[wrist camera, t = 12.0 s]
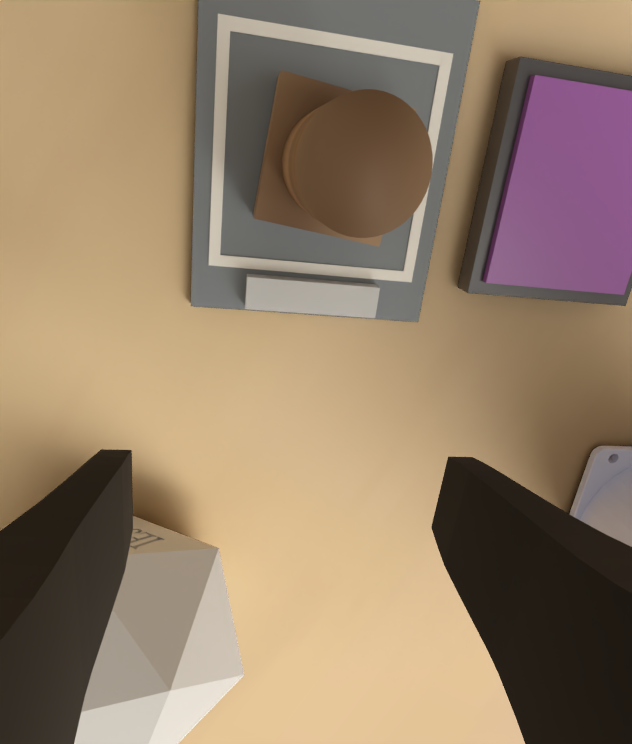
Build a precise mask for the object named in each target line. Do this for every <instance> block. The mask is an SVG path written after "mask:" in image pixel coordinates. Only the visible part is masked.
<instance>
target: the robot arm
mask: <svg viewBox="0 0 632 744" xmlns="http://www.w3.org/2000/svg"><path fill="white" fill-rule="evenodd" d="M612 454H613V455H612ZM611 455H612V456H611ZM610 456H611V457H610ZM609 457H610V458H609ZM432 530H433V533H434V537H435V540H436V543H437V546H438V549H439V552H440V554H441V557H442V560H443V562H444V565H445V567H446V569H447V571H448V574H449V576H450V578H451V580H452V582H453V584H454V586H455V588H456V590H457V592H458V594H459V596H460V597H461V599H462V601H463V603H464V605H465V607H466V609H467V611H468V613H469V615H470V617H471V619H472V621H473V623H474V625H475V627H476V628H477V630H478V632H479V634H480V636H481V638H482V640H483V642H484V644H485V646H486V648H487V650H488V652H489V654H490V656H491V658H492V660H493V663H494V665H495V667H496V669H497V671H498V673H499V676H500V678H501V681H502V683H503V686H504V689H505V691H506V694H507V696H508V699H509V701H510V704H511V706H512V709H513V711H514V714H515V716H516V719H517V722H518V724H519V727H520V730H521V733H522V735H523V738H524V741H525V744H632V446H599V447H597V448H595V449H594V450H593V451H592V453H591V454H590V457H589V460H588V463H587V466H586V468H585V471H584V474H583V477H582V480H581V483H580V485H579V488H578V491H577V494H576V497H575V499H574V502H573V505H572V508H571V511H570V514H568V513H566V512H564V511H563V510H561V509H559V508H558V507H556V506H554V505H552V504H551V503H549V502H547V501H546V500H544V499H542V498H541V497H539V496H538V495H536V494H534V493H533V492H531V491H529V490H528V489H526V488H525V487H523V486H521V485H520V484H518V483H516V482H515V481H513V480H512V479H510V478H508V477H507V476H505V475H504V474H502V473H500V472H499V471H497V470H495V469H493V468H492V467H490V466H488V465H487V464H485V463H483V462H481V461H479V460H477V459H475V458H473V457H448V460H447V464H446V469H445V473H444V477H443V481H442V485H441V490H440V494H439V498H438V502H437V506H436V511H435V515H434V519H433V523H432ZM132 532H133V502H132V453H131V450H100V451H99V452H98V453H97V454H96V455H94V456H93V457H92V458H91V459H89V460H88V461H87V462H86V463H85V464H84V465H83V466H81V467H80V468H79V469H78V470H77V471H76V472H75V473H73V474H72V475H71V476H70V477H69V478H68V479H66V480H65V481H64V482H63V483H62V484H61V485H59V486H58V487H57V488H56V489H55V490H53V491H52V492H51V493H50V494H49V495H47V496H46V497H45V498H44V499H42V500H41V501H40V502H39V503H38V504H36V505H35V506H34V507H32V508H31V509H29V510H28V511H27V512H25V513H24V514H23V515H21V516H20V517H19V518H17V519H16V520H15V521H13V522H12V523H11V524H9V525H8V526H7V527H5V528H4V529H2V530H1V531H0V744H74V742H75V737H76V733H77V729H78V724H79V720H80V715H81V711H82V706H83V702H84V698H85V694H86V691H87V687H88V684H89V680H90V677H91V673H92V670H93V667H94V664H95V661H96V658H97V655H98V652H99V649H100V646H101V643H102V640H103V637H104V634H105V631H106V628H107V625H108V622H109V619H110V616H111V613H112V610H113V606H114V603H115V600H116V597H117V594H118V591H119V588H120V585H121V582H122V579H123V575H124V572H125V568H126V563H127V558H128V553H129V548H130V542H131V537H132Z"/></svg>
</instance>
